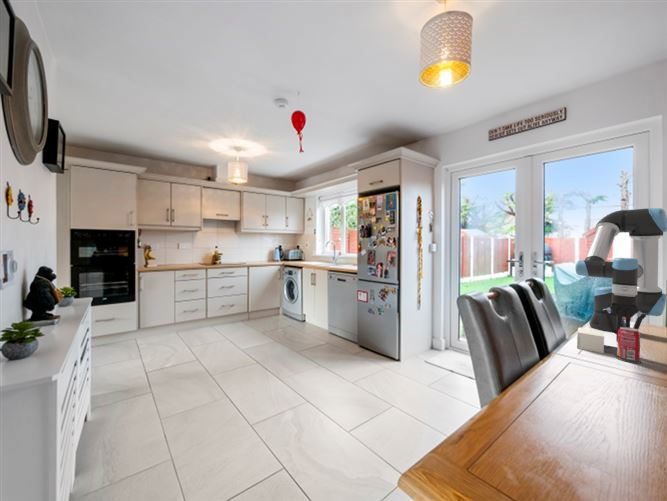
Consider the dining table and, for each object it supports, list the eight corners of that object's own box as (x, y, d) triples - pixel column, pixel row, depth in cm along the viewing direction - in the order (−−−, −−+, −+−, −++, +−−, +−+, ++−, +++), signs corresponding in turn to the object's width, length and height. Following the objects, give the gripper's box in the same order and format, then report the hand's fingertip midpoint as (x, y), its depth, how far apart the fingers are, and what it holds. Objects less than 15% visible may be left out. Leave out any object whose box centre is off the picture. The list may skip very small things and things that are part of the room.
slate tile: (591, 347, 130) (591, 342, 130) (619, 352, 124) (619, 347, 124) (591, 350, 125) (591, 346, 125) (620, 356, 119) (620, 351, 119)
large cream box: (577, 348, 127) (577, 332, 126) (578, 342, 135) (578, 327, 135) (603, 353, 121) (604, 336, 121) (602, 346, 129) (603, 331, 129)
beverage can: (629, 356, 117) (630, 326, 117) (644, 362, 111) (645, 331, 110) (612, 355, 117) (613, 326, 117) (626, 361, 111) (627, 330, 111)
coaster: (615, 355, 119) (615, 354, 119) (640, 359, 114) (640, 358, 114) (616, 360, 114) (616, 359, 114) (642, 365, 109) (642, 364, 109)
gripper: (603, 293, 122) (601, 349, 123) (648, 298, 114) (646, 357, 114) (602, 292, 128) (601, 345, 128) (645, 295, 119) (643, 352, 120)
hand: (622, 350), depth 121 cm, fingers closed
